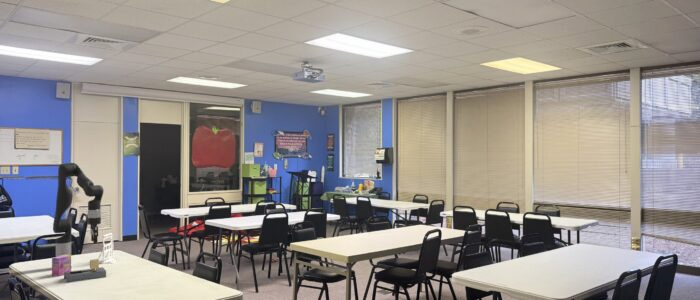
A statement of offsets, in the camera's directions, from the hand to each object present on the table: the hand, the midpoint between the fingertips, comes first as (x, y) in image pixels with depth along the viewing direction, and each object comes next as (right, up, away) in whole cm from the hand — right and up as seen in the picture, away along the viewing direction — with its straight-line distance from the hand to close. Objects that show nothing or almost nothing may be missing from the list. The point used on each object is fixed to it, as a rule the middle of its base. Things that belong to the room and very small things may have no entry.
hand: (94, 242), depth 310 cm
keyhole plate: (-4, -22, -3) cm, 23 cm away
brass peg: (0, -22, 0) cm, 22 cm away
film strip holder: (-13, -23, +45) cm, 52 cm away
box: (-25, -22, +7) cm, 34 cm away
